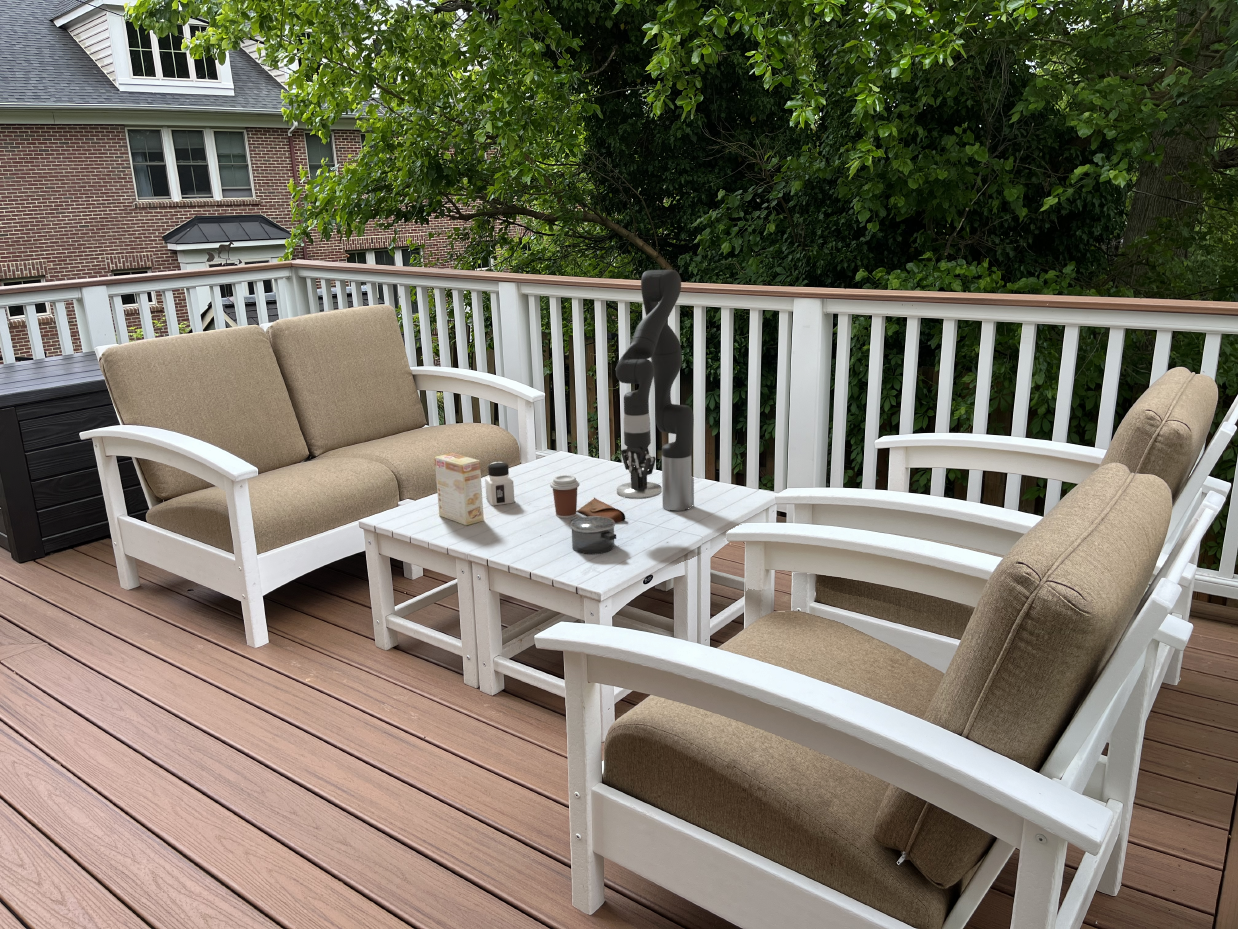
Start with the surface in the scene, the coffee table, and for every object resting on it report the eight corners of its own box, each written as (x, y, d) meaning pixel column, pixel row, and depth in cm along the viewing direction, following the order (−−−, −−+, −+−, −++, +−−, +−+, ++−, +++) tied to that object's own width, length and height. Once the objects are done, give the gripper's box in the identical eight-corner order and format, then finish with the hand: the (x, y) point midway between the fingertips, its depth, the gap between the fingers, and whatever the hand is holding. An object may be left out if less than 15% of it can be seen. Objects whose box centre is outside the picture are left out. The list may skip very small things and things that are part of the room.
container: (514, 503, 311) (512, 464, 307) (491, 506, 308) (489, 467, 305) (508, 496, 318) (506, 459, 314) (486, 499, 315) (483, 462, 312)
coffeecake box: (484, 520, 295) (480, 460, 289) (466, 526, 290) (461, 464, 285) (456, 510, 305) (452, 451, 300) (438, 515, 300) (433, 456, 295)
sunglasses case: (573, 510, 301) (581, 491, 301) (589, 518, 305) (598, 499, 305) (602, 526, 286) (611, 506, 287) (619, 533, 290) (628, 513, 291)
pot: (592, 533, 281) (591, 510, 279) (631, 550, 266) (630, 527, 264) (556, 542, 274) (555, 519, 272) (594, 561, 259) (593, 537, 257)
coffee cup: (566, 508, 304) (565, 472, 301) (586, 514, 298) (585, 477, 295) (545, 515, 298) (543, 478, 294) (565, 521, 292) (564, 484, 288)
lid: (643, 482, 282) (642, 462, 280) (671, 492, 272) (670, 471, 270) (607, 491, 274) (606, 471, 273) (635, 502, 264) (634, 480, 263)
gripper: (663, 430, 264) (664, 489, 269) (632, 422, 275) (634, 478, 280) (642, 435, 260) (643, 495, 265) (611, 426, 271) (614, 484, 276)
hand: (639, 486), depth 273 cm, fingers closed on lid, 3 cm apart
